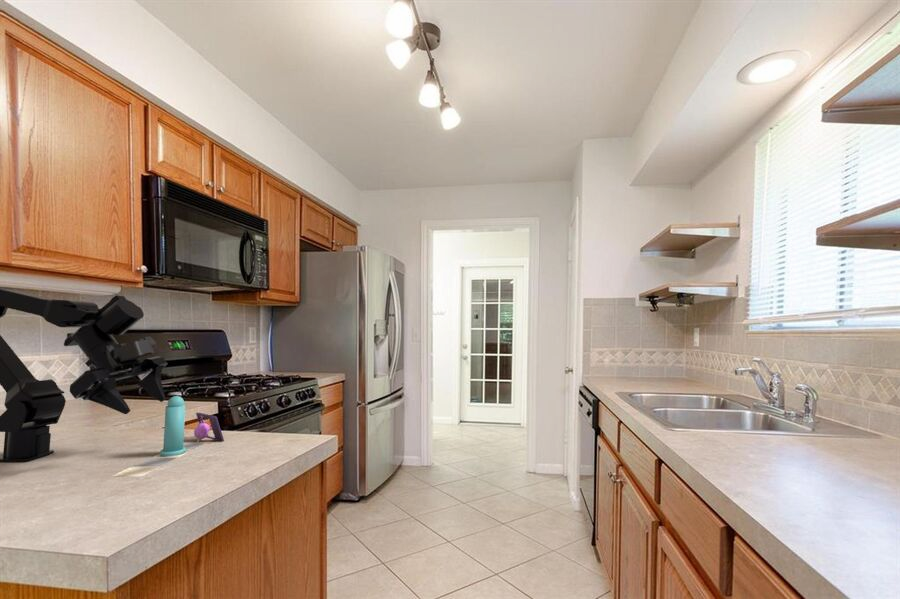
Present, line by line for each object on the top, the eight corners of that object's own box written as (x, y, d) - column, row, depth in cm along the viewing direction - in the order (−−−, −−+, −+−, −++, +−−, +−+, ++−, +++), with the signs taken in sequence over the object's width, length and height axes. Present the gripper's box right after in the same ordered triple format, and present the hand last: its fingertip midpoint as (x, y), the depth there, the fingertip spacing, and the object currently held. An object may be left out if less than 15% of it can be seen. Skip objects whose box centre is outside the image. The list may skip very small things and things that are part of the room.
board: (90, 483, 75) (90, 479, 75) (176, 444, 101) (176, 441, 101) (137, 483, 75) (137, 478, 75) (210, 444, 101) (210, 441, 101)
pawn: (158, 457, 88) (161, 398, 89) (162, 451, 92) (165, 395, 93) (184, 454, 90) (187, 397, 91) (186, 449, 94) (189, 394, 95)
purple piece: (219, 414, 104) (200, 410, 109) (198, 425, 100) (179, 421, 104) (227, 439, 105) (207, 434, 110) (206, 451, 101) (187, 445, 106)
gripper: (86, 329, 80) (136, 393, 80) (162, 321, 99) (203, 373, 98) (46, 366, 82) (95, 429, 81) (129, 351, 100) (169, 403, 99)
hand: (146, 406), depth 90 cm, fingers open, 9 cm apart
